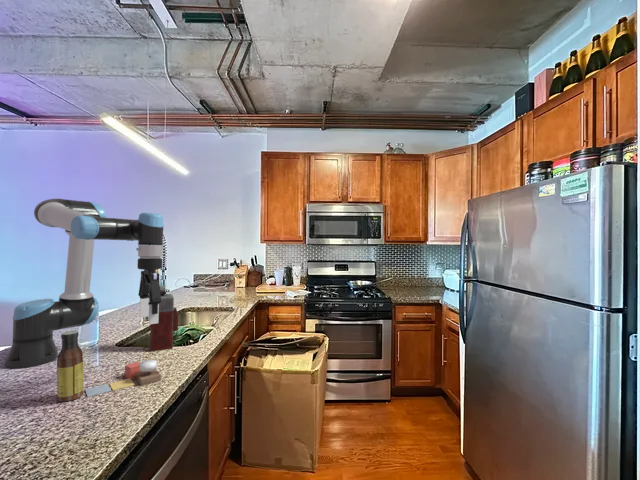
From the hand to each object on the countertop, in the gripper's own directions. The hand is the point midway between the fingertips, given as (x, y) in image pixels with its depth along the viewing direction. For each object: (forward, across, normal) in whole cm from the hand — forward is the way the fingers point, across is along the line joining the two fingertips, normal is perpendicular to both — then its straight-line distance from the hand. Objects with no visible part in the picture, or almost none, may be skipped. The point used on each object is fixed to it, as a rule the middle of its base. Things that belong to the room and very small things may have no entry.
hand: (148, 320), depth 107 cm
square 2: (+21, -1, -7) cm, 22 cm away
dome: (+17, 0, 0) cm, 17 cm away
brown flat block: (+21, 0, 0) cm, 21 cm away
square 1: (+21, -1, -14) cm, 25 cm away
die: (+21, -7, -3) cm, 22 cm away
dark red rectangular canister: (+21, -33, +15) cm, 42 cm away
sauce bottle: (+21, -1, -21) cm, 29 cm away
